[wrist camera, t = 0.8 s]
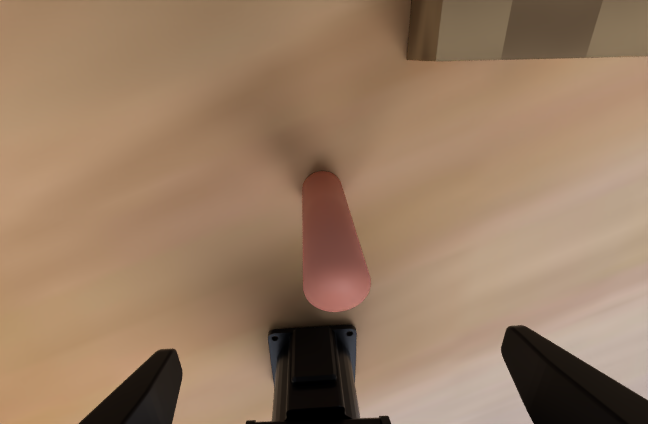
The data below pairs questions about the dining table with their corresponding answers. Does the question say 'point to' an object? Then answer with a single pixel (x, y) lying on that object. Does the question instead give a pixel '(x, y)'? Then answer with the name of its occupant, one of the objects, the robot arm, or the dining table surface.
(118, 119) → the dining table surface
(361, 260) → the reddish pink rod
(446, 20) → the brown square holed block
